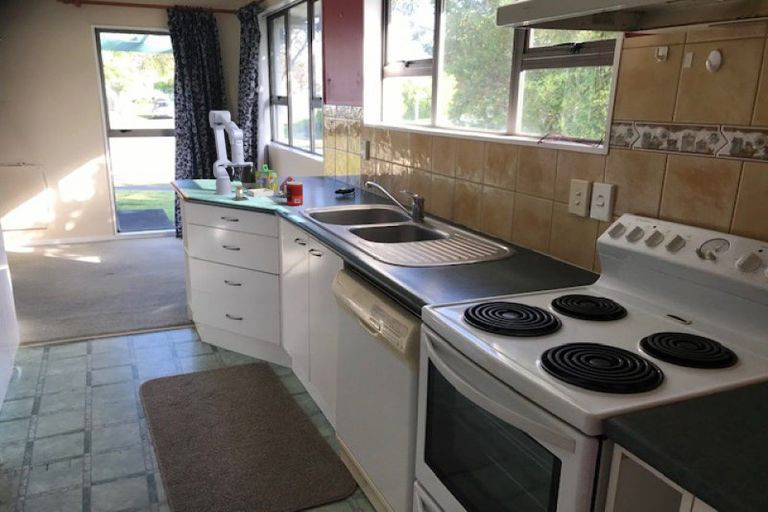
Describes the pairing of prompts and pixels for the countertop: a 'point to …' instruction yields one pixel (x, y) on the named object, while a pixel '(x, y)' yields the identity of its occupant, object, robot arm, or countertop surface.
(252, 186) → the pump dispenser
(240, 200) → the socket seat
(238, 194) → the silver cylinder copper tab
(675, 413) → the countertop surface
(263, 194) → the parts tray
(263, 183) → the chalk box
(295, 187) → the canned food
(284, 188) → the brake caliper
